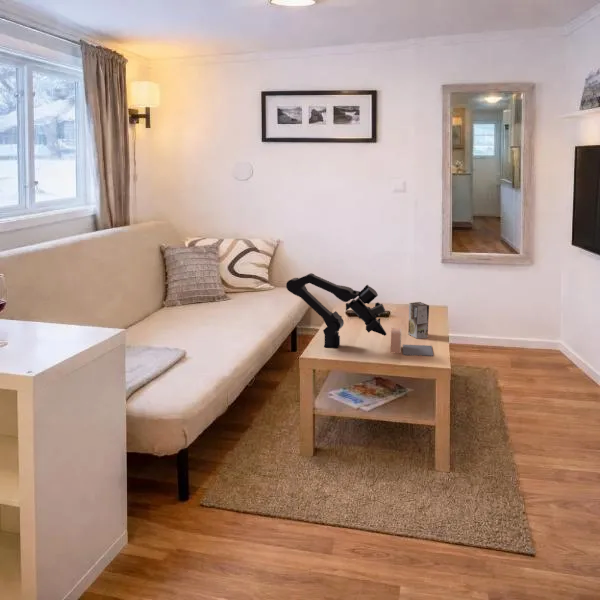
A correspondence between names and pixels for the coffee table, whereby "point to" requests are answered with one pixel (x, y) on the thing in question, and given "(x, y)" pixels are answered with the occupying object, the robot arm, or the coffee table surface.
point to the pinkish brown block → (396, 340)
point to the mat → (417, 350)
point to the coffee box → (418, 320)
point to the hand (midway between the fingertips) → (385, 334)
